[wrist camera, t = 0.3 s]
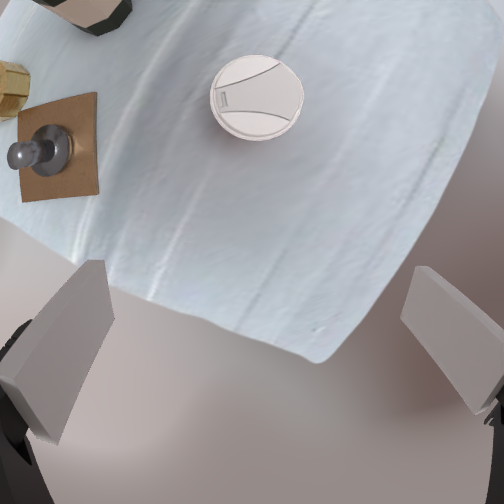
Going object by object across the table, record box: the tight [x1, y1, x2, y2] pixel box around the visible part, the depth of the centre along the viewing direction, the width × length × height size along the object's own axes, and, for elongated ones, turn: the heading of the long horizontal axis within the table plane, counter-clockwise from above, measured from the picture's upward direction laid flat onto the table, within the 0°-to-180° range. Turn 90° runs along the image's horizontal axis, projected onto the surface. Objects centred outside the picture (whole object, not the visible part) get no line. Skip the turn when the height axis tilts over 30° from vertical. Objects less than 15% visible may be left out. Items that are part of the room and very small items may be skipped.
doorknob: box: [7, 92, 99, 203], centre depth 28 cm, size 14×14×10 cm
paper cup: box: [210, 55, 304, 141], centre depth 27 cm, size 8×8×14 cm
